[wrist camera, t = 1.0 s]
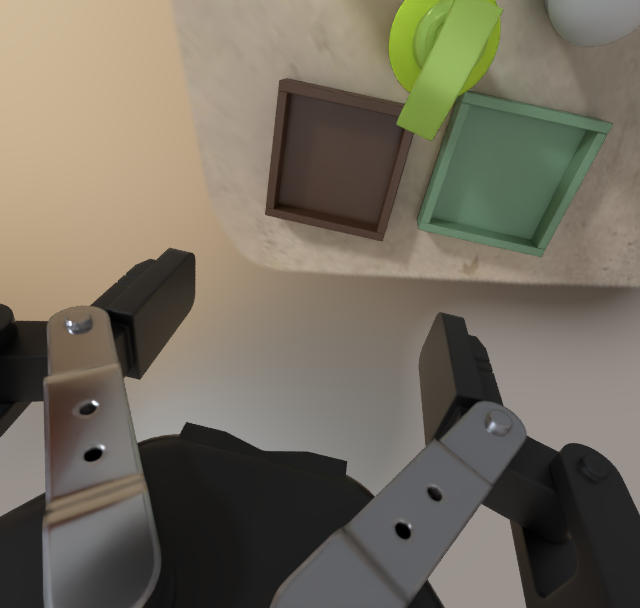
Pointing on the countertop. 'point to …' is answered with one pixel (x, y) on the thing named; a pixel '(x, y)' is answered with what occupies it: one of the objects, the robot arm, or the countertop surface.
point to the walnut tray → (335, 159)
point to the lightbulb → (593, 20)
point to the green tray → (508, 172)
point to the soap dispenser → (440, 55)
